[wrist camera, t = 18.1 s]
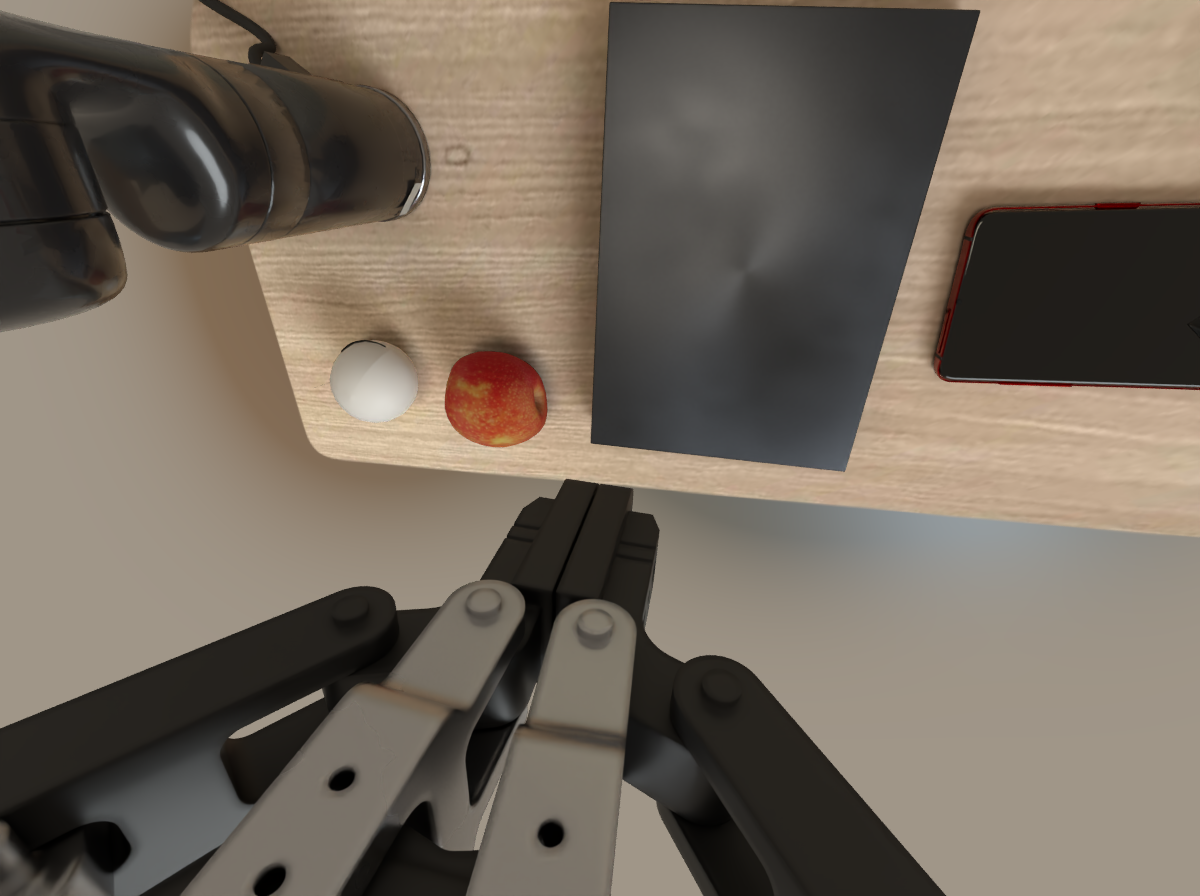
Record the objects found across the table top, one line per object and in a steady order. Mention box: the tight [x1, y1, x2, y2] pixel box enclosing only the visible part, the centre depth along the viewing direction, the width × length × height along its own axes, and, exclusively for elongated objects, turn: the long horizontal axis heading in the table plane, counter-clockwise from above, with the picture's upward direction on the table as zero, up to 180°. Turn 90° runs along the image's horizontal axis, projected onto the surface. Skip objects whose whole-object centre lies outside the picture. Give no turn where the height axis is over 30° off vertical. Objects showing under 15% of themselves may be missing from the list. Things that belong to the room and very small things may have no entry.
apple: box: [445, 351, 547, 447], centre depth 47 cm, size 8×8×8 cm
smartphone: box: [934, 202, 1200, 390], centre depth 37 cm, size 12×2×25 cm
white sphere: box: [315, 340, 418, 423], centre depth 50 cm, size 10×7×7 cm
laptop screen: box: [591, 2, 980, 472], centre depth 40 cm, size 21×30×1 cm
